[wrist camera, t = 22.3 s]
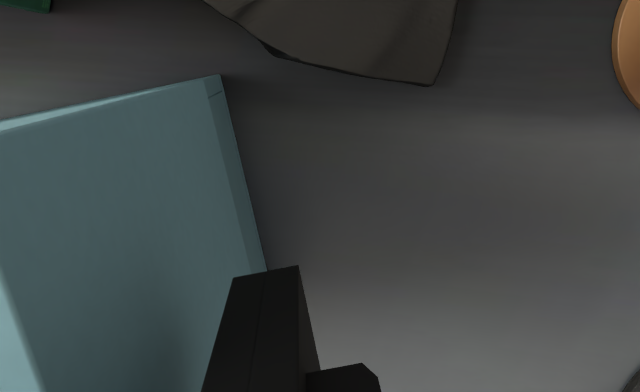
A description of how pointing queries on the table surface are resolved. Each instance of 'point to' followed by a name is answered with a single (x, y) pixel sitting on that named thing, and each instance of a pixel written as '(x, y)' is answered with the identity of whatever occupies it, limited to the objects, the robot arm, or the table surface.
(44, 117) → the chest
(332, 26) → the dark sector wedge
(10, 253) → the lid
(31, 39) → the table surface
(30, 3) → the coffee box
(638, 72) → the coaster
